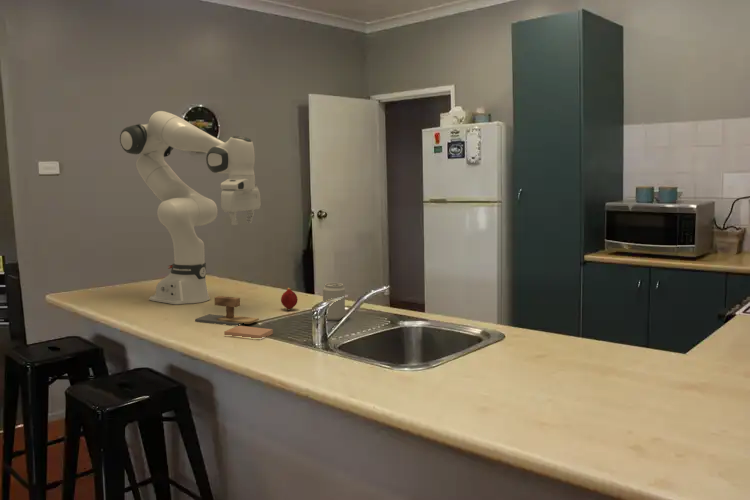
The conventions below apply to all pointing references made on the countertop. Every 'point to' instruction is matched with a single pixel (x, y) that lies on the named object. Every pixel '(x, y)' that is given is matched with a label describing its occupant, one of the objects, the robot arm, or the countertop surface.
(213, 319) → the mat
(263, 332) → the tile
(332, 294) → the can
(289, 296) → the onion
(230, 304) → the wooden trowel
